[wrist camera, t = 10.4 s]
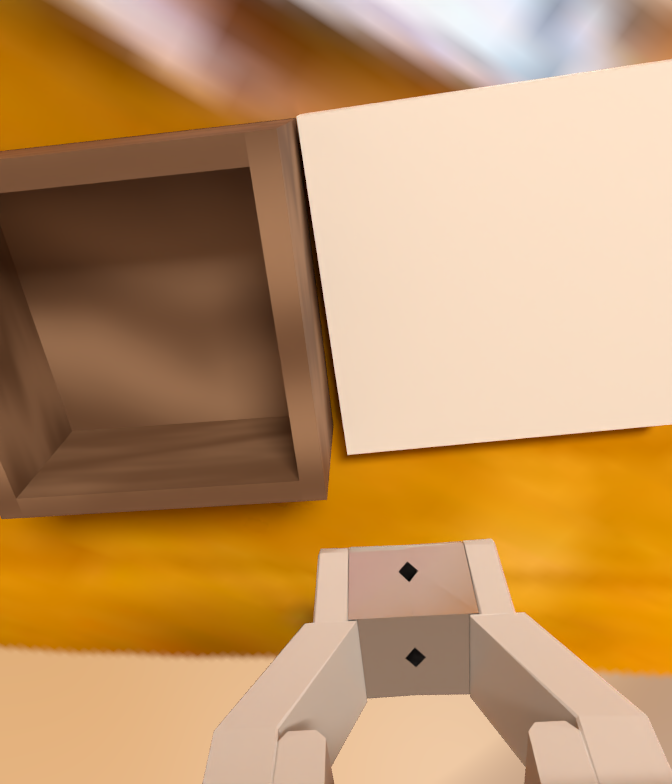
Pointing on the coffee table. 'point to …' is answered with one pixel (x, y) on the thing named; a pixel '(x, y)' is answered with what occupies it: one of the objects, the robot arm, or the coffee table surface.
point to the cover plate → (498, 258)
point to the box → (160, 325)
